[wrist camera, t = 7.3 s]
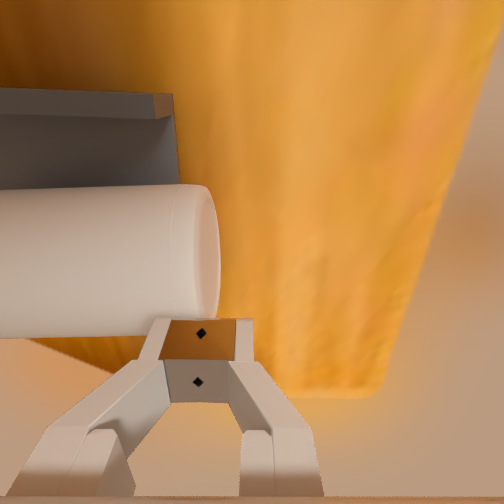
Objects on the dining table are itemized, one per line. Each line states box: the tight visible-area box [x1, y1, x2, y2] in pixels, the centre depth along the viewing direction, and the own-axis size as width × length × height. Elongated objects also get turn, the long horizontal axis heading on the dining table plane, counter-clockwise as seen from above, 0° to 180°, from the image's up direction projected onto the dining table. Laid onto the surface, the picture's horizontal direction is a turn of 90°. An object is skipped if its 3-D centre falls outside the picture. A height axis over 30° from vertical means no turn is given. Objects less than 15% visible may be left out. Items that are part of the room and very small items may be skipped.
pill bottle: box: [0, 184, 221, 339], centre depth 15 cm, size 8×8×15 cm
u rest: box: [0, 87, 181, 190], centre depth 17 cm, size 13×16×4 cm
